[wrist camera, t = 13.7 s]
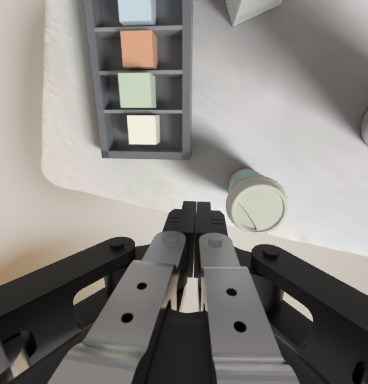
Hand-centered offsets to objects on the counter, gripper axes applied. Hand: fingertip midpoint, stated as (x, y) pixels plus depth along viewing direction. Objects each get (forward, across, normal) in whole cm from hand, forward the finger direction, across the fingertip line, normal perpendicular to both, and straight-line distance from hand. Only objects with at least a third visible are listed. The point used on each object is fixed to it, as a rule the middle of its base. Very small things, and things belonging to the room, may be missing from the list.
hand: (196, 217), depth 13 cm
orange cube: (+28, +9, -14) cm, 33 cm away
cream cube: (+28, +9, -3) cm, 30 cm away
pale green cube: (+26, +10, -8) cm, 28 cm away
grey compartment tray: (+29, +10, -11) cm, 32 cm away
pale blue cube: (+28, +9, -19) cm, 35 cm away
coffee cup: (+29, -8, +7) cm, 31 cm away
